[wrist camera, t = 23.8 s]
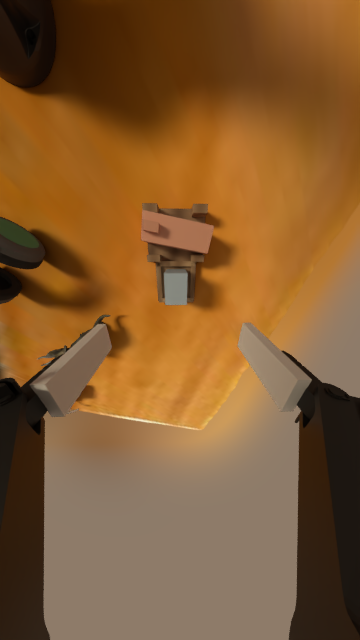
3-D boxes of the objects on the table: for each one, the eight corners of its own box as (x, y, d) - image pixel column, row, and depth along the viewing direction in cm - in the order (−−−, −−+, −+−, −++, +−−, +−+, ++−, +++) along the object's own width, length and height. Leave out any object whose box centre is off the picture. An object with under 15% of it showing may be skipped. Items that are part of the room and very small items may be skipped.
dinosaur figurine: (113, 307, 42) (93, 324, 32) (130, 327, 45) (117, 348, 35) (64, 338, 47) (33, 361, 37) (83, 354, 50) (59, 380, 40)
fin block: (167, 294, 40) (165, 304, 32) (166, 269, 37) (163, 273, 29) (184, 294, 40) (186, 304, 32) (185, 269, 37) (187, 273, 29)
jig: (153, 300, 41) (150, 305, 37) (145, 209, 32) (141, 203, 28) (199, 299, 42) (201, 304, 38) (205, 210, 32) (209, 204, 28)
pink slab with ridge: (147, 242, 34) (138, 239, 26) (149, 218, 32) (139, 206, 24) (202, 253, 35) (209, 253, 27) (207, 231, 33) (216, 223, 25)
